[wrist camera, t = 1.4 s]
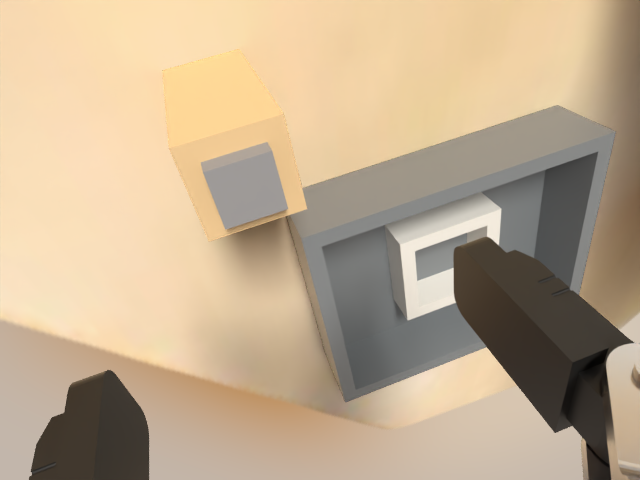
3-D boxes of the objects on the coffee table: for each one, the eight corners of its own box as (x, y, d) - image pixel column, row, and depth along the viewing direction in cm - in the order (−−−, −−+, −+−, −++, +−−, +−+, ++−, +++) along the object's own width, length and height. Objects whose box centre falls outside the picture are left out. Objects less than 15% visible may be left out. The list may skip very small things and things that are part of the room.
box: (557, 105, 31) (615, 131, 28) (534, 275, 41) (574, 312, 37) (280, 195, 29) (301, 238, 25) (325, 353, 39) (345, 402, 35)
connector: (238, 49, 24) (289, 121, 15) (259, 121, 26) (313, 219, 17) (162, 70, 23) (169, 158, 15) (190, 142, 25) (210, 253, 17)
